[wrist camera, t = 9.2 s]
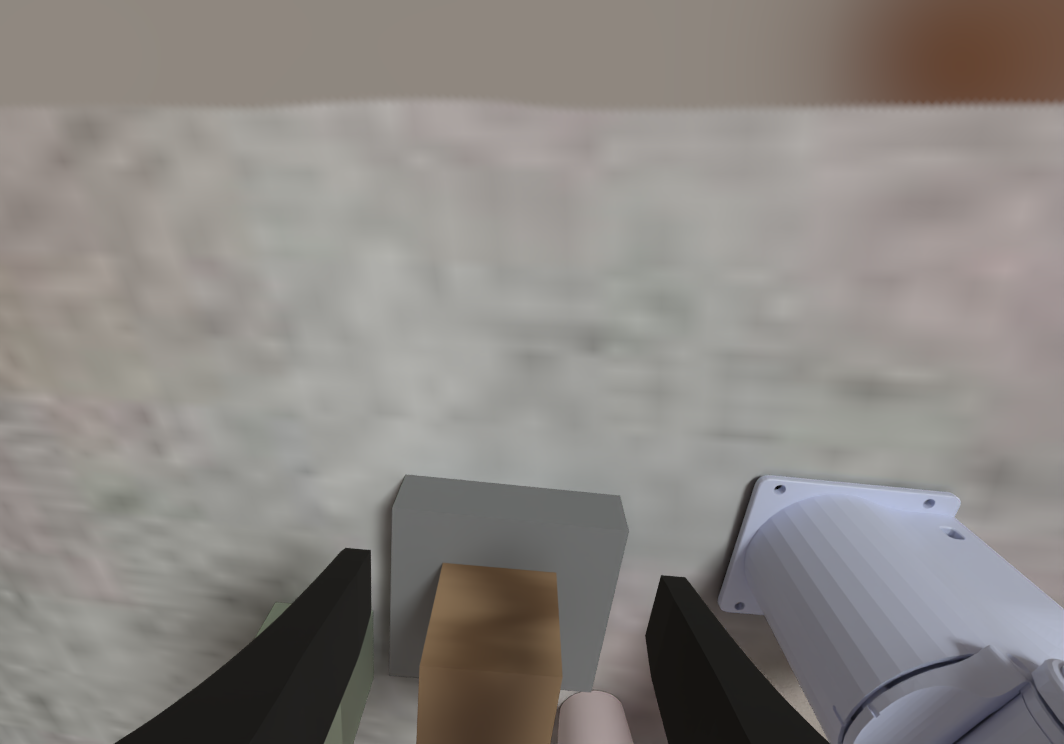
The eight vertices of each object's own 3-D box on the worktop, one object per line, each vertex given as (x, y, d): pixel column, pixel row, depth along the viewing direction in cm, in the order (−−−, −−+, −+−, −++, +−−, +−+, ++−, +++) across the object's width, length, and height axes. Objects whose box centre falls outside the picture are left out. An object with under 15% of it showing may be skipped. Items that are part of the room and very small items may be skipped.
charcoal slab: (618, 489, 25) (628, 530, 22) (585, 640, 28) (591, 692, 26) (408, 468, 24) (392, 507, 21) (403, 624, 28) (389, 675, 25)
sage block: (373, 608, 27) (340, 702, 22) (373, 676, 29) (343, 774, 24) (276, 601, 27) (222, 693, 22) (283, 669, 29) (235, 766, 24)
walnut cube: (556, 572, 23) (562, 677, 18) (543, 654, 25) (545, 768, 20) (442, 562, 22) (419, 665, 18) (438, 645, 24) (415, 759, 20)
